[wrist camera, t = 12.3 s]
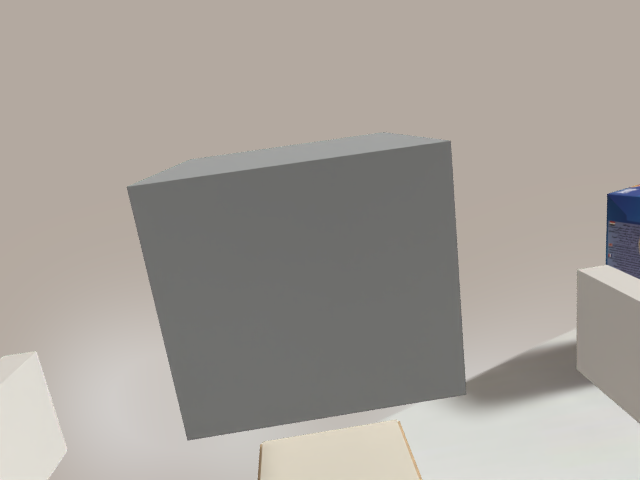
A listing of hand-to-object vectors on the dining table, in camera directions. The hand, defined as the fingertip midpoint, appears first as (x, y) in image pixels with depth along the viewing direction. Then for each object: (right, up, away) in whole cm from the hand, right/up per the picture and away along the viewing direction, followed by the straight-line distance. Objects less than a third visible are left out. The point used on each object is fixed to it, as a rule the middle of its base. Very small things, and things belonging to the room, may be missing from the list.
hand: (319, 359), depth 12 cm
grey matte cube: (0, -2, +10) cm, 10 cm away
